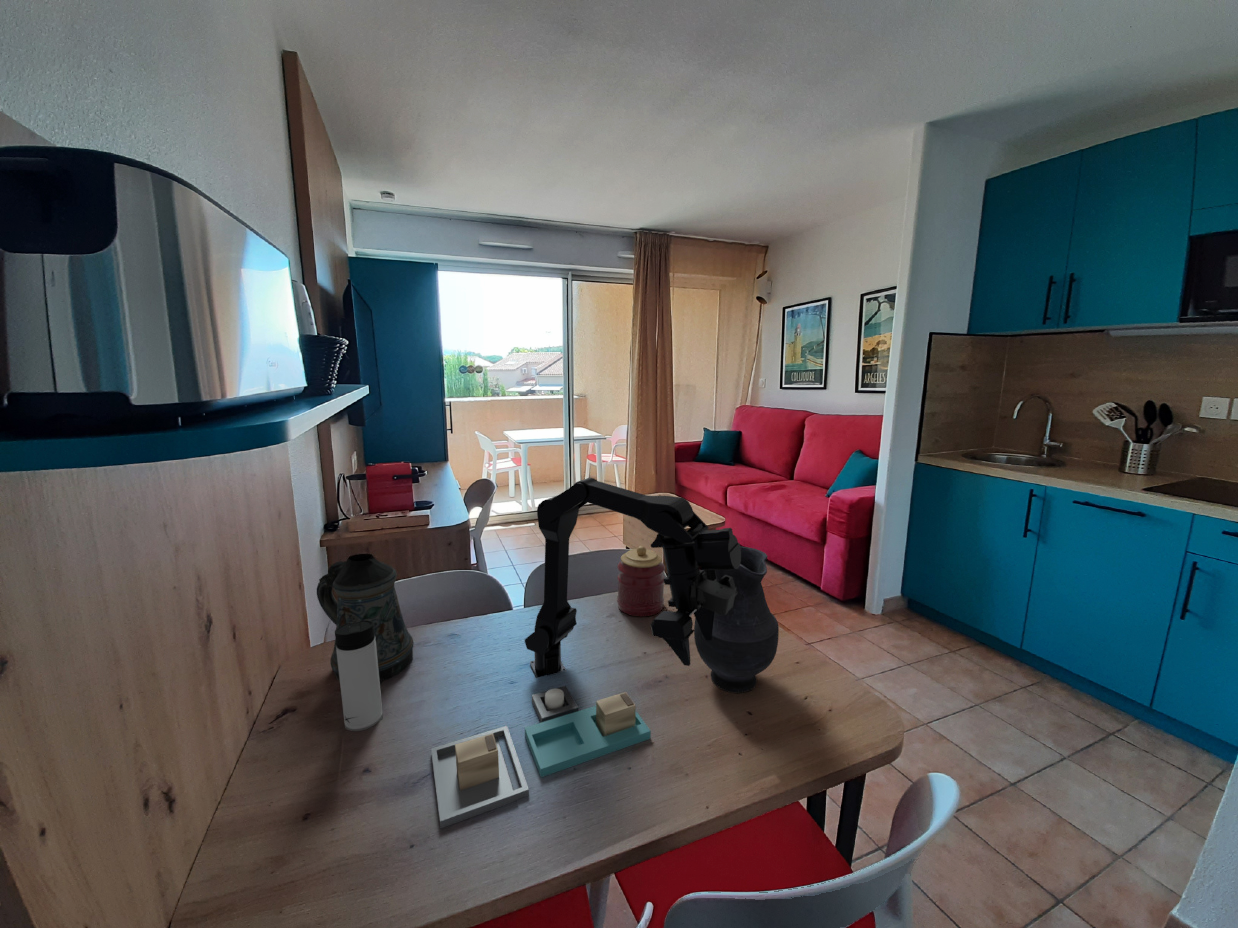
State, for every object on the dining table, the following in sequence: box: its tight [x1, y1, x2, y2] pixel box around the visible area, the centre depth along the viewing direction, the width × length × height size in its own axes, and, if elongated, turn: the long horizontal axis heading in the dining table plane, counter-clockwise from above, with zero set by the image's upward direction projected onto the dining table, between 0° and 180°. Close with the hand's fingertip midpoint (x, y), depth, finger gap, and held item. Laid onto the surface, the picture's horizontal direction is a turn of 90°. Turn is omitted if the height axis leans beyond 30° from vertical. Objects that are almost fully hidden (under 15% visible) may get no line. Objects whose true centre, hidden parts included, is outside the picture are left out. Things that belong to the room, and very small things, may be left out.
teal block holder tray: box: [524, 705, 652, 778], centre depth 87 cm, size 10×20×2 cm, turn 115°
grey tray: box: [430, 725, 530, 829], centre depth 79 cm, size 15×13×2 cm
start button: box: [544, 688, 565, 712], centre depth 93 cm, size 4×4×2 cm
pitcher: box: [693, 545, 780, 694], centre depth 104 cm, size 17×21×30 cm
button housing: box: [531, 685, 579, 723], centre depth 94 cm, size 7×7×2 cm
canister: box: [616, 545, 666, 618], centre depth 134 cm, size 13×13×18 cm
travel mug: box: [334, 620, 384, 732], centre depth 89 cm, size 6×7×20 cm
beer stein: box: [316, 553, 415, 682], centre depth 106 cm, size 16×19×25 cm
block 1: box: [455, 733, 499, 790], centre depth 78 cm, size 4×6×5 cm, turn 115°
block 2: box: [595, 691, 637, 737], centre depth 88 cm, size 4×6×5 cm, turn 115°
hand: (698, 652), depth 88 cm, fingers open, 9 cm apart
